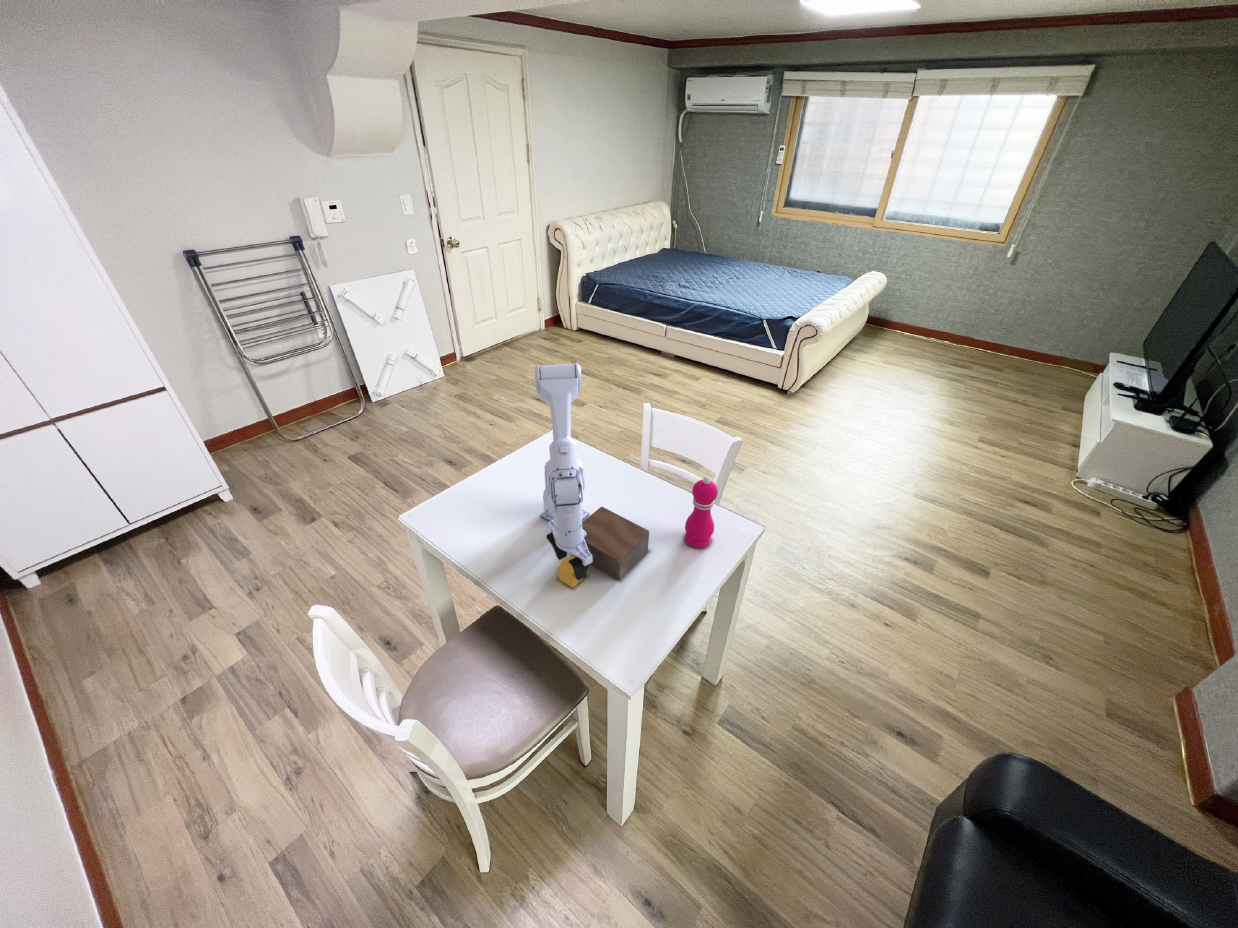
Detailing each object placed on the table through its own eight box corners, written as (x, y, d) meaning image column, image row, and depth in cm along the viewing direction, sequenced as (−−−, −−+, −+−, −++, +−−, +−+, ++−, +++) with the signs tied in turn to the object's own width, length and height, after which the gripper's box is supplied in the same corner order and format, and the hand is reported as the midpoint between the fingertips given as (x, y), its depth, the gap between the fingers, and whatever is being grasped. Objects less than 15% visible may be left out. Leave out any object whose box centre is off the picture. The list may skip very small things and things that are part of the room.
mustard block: (558, 579, 113) (557, 566, 111) (571, 567, 116) (570, 554, 114) (572, 588, 111) (571, 575, 109) (585, 576, 114) (584, 563, 112)
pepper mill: (704, 554, 120) (715, 491, 109) (678, 542, 124) (686, 480, 112) (716, 536, 125) (727, 474, 114) (690, 526, 128) (699, 464, 117)
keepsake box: (619, 580, 113) (620, 561, 110) (572, 552, 120) (571, 533, 117) (647, 551, 121) (649, 533, 117) (601, 526, 128) (601, 508, 124)
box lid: (618, 563, 109) (618, 560, 109) (569, 535, 116) (568, 532, 116) (649, 533, 117) (649, 530, 117) (601, 508, 124) (601, 506, 124)
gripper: (604, 534, 101) (604, 578, 109) (565, 498, 110) (568, 541, 118) (575, 549, 98) (578, 593, 105) (538, 511, 107) (543, 554, 115)
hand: (571, 567), depth 112 cm, fingers open, 7 cm apart
